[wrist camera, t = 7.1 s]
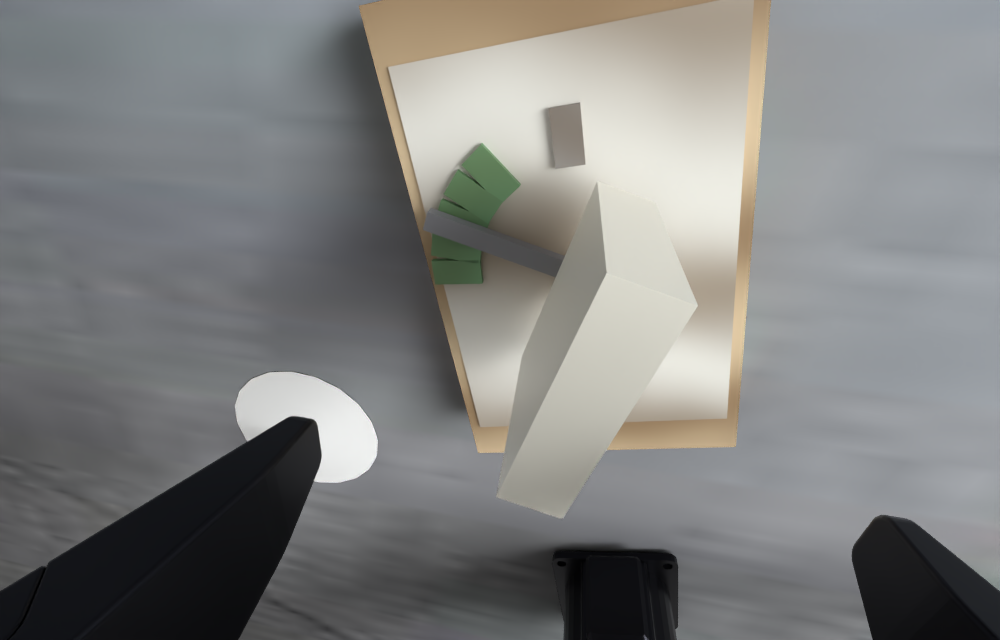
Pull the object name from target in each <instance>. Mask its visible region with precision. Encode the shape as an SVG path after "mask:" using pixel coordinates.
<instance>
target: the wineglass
mask: <svg viewBox="0 0 1000 640" xmlns="http://www.w3.org/2000/svg"><path fill="white" fill-rule="evenodd" d="M235 410H236V417H237V423H238V425H239V427H240V429H241V431H242V433H243V435H244V437H245V438H246V440H247V441H249V440H251V439H253V438H254V437H256V436H258V435H259V434H261V433H262V432H264V431H266V430H267V429H269V428H271V427H272V426H274V425H276V424H277V423H279V422H281V421H282V420H284V419H286V418H288V417H290V416H299V417H305V418H311V419H314V420H315V421H316V423H317V426H318V431H319V438H320V445H321V451H322V458H321V463H320V467H319V469H318V472H317V474H316V477H315V479H314V481H316V482H332V483H339V482H343V481H347V480H351V479H355V478H357V477H358V476H360V475H361V474H363V473H364V472H366V471H367V470H369V469H370V467H371V465H372V463H373V462H374V460H375V458H376V457H377V445H378V439H377V436H376V433H375V430H374V427H373V425H372V422H371V421H370V419H369V418H368V417H367V415H366V414H365V412H364V411H363V410H362V408H361V407H360V406H359V404H357V403H356V402H355V401H354V400H352V399H351V398H350V397H349V396H348V395H346V394H345V393H344V392H343V391H341V390H340V389H339V388H337V387H335V386H333V385H331V384H329V383H327V382H325V381H322V380H320V379H318V378H316V377H312V376H308V375H304V374H300V373H295V372H269V373H266V374H263V375H261V376H258V377H255V378H253V379H251V380H250V381H249V382H248V383H247V384H246V385H245V386H244V387H243V388H242V389H241V390H240V391H239V394H238V397H237V401H236V404H235Z"/></svg>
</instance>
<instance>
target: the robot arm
mask: <svg viewBox="0 0 1000 640" xmlns="http://www.w3.org/2000/svg"><path fill="white" fill-rule="evenodd" d="M321 458H322V451H321V445H320V438H319V431H318V426H317V423H316V421H315V420H314V419H311V418H305V417H299V416H290V417H288V418H286V419H284V420H282V421H281V422H279V423H277V424H276V425H274V426H272V427H271V428H269V429H267V430H266V431H264V432H262V433H261V434H259V435H258V436H256V437H254V438H253V439H251V440H249V441H248V442H246V443H244V444H243V445H241V446H239V447H238V448H236V449H234V450H233V451H231V452H229V453H228V454H226V455H224V456H223V457H221V458H220V459H218V460H216V461H215V462H213V463H211V464H210V465H208V466H206V467H205V468H203V469H201V470H200V471H198V472H196V473H195V474H193V475H191V476H190V477H188V478H187V479H185V480H183V481H182V482H180V483H178V484H177V485H175V486H173V487H172V488H170V489H168V490H167V491H165V492H163V493H162V494H160V495H158V496H157V497H155V498H153V499H152V500H150V501H149V502H147V503H145V504H144V505H142V506H140V507H139V508H137V509H135V510H134V511H132V512H130V513H129V514H127V515H125V516H124V517H122V518H120V519H119V520H117V521H116V522H114V523H112V524H111V525H109V526H107V527H106V528H104V529H102V530H101V531H99V532H97V533H96V534H94V535H92V536H91V537H89V538H87V539H86V540H84V541H83V542H81V543H79V544H78V545H76V546H74V547H73V548H71V549H69V550H68V551H66V552H64V553H63V554H61V555H59V556H58V557H56V558H54V559H53V560H51V561H50V562H49V563H48V565H47V567H46V566H41V567H39V568H38V569H36V570H34V571H33V572H31V573H29V574H28V575H26V576H24V577H23V578H21V579H19V580H18V581H16V582H14V583H13V584H11V585H9V586H8V587H6V588H4V589H3V590H1V591H0V640H238V639H239V637H240V635H241V634H242V632H243V630H244V628H245V626H246V624H247V622H248V620H249V619H250V617H251V615H252V613H253V611H254V609H255V607H256V605H257V604H258V602H259V600H260V598H261V596H262V594H263V592H264V590H265V589H266V587H267V585H268V583H269V581H270V579H271V577H272V575H273V574H274V572H275V570H276V568H277V566H278V564H279V562H280V560H281V558H282V556H283V554H284V552H285V550H286V547H287V545H288V543H289V540H290V538H291V536H292V533H293V531H294V528H295V526H296V523H297V521H298V519H299V516H300V514H301V511H302V509H303V506H304V504H305V501H306V499H307V496H308V494H309V492H310V489H311V487H312V484H313V482H314V479H315V477H316V474H317V472H318V469H319V467H320V463H321ZM852 562H853V566H854V570H855V574H856V578H857V582H858V585H859V589H860V593H861V597H862V601H863V605H864V608H865V612H866V616H867V620H868V624H869V627H870V631H871V635H872V639H873V640H1000V591H999V590H998V589H996V588H995V587H994V586H993V585H991V584H990V583H989V582H988V581H986V580H985V579H984V578H983V577H981V576H980V575H979V574H978V573H977V572H975V571H974V570H973V569H972V568H970V567H969V566H968V565H967V564H965V563H964V562H963V561H962V560H960V559H959V558H958V557H957V556H956V555H954V554H953V553H952V552H951V551H949V550H948V549H947V548H946V547H944V546H943V545H942V544H941V543H939V542H938V541H937V540H936V539H935V538H933V537H932V536H931V535H930V534H928V533H927V532H926V531H925V530H923V529H922V528H921V527H920V526H918V525H917V524H916V523H914V522H913V521H911V520H908V519H905V518H900V517H894V516H888V515H880V516H877V517H875V518H874V519H873V520H872V522H871V523H870V524H869V526H868V527H867V528H866V530H865V531H864V532H863V534H862V535H861V536H860V538H859V539H858V540H857V541H856V543H855V544H854V546H853V549H852ZM552 564H553V569H554V574H555V579H556V585H557V590H558V595H559V600H560V605H561V610H562V615H563V620H564V640H677V638H676V632H675V629H676V628H677V627H678V564H677V559H676V557H675V556H674V555H672V554H668V553H621V552H569V551H559V552H556V553H554V554H553V562H552Z"/></svg>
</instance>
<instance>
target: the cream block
mask: <svg viewBox="0 0 1000 640" xmlns="http://www.w3.org/2000/svg"><path fill="white" fill-rule="evenodd" d="M423 230H424V231H427V232H430V233H433V234H436V235H438V236H441V237H444V238H447V239H450V240H452V241H455V242H458V243H461V244H464V245H466V246H469V247H472V248H475V249H478V250H480V251H483V252H486V253H489V254H492V255H494V256H497V257H500V258H503V259H505V260H508V261H511V262H514V263H517V264H519V265H522V266H525V267H528V268H531V269H533V270H536V271H539V272H542V273H545V274H547V275H550V276H553V277H556V278H555V280H554V283H553V285H552V287H551V290H550V292H549V294H548V297H547V299H546V301H545V303H544V306H543V308H542V310H541V313H540V315H539V317H538V320H537V322H536V324H535V327H534V329H533V331H532V334H531V336H530V338H529V341H528V343H527V345H526V348H525V350H524V352H523V354H522V358H521V363H520V369H519V374H518V380H517V385H516V391H515V396H514V402H513V407H512V413H511V418H510V424H509V429H508V435H507V440H506V446H505V451H504V457H503V462H502V468H501V473H500V479H499V484H498V490H497V495H496V497H497V498H500V499H503V500H506V501H509V502H512V503H515V504H518V505H521V506H524V507H527V508H530V509H533V510H536V511H539V512H542V513H545V514H548V515H551V516H554V517H557V518H560V519H563V518H564V516H565V514H566V513H567V511H568V510H569V508H570V507H571V505H572V503H573V502H574V500H575V499H576V497H577V496H578V494H579V492H580V491H581V489H582V488H583V486H584V485H585V483H586V481H587V480H588V478H589V477H590V475H591V474H592V472H593V470H594V469H595V467H596V466H597V464H598V462H599V461H600V459H601V458H602V456H603V455H604V453H605V451H606V450H607V448H608V447H609V445H610V444H611V442H612V440H613V439H614V437H615V436H616V434H617V433H618V431H619V429H620V428H621V426H622V425H623V423H624V422H625V420H626V418H627V417H628V415H629V414H630V412H631V410H632V409H633V407H634V406H635V404H636V403H637V401H638V399H639V398H640V396H641V395H642V393H643V392H644V390H645V388H646V387H647V385H648V384H649V382H650V381H651V379H652V377H653V376H654V374H655V373H656V371H657V370H658V368H659V366H660V365H661V363H662V362H663V360H664V359H665V357H666V355H667V354H668V352H669V351H670V349H671V347H672V346H673V344H674V343H675V341H676V340H677V338H678V336H679V335H680V333H681V332H682V330H683V329H684V327H685V325H686V324H687V322H688V321H689V319H690V318H691V316H692V314H693V313H694V311H695V310H696V308H697V307H698V305H697V302H696V300H695V297H694V295H693V293H692V290H691V288H690V285H689V283H688V281H687V278H686V276H685V273H684V271H683V269H682V266H681V264H680V261H679V259H678V257H677V254H676V252H675V249H674V247H673V245H672V242H671V240H670V237H669V235H668V233H667V230H666V228H665V225H664V223H663V221H662V218H661V216H660V213H659V211H658V209H657V206H656V204H655V202H653V201H651V200H648V199H645V198H642V197H640V196H637V195H634V194H632V193H629V192H626V191H623V190H621V189H618V188H615V187H612V186H610V185H607V184H604V183H602V182H599V181H597V183H596V185H595V188H594V190H593V192H592V195H591V197H590V199H589V202H588V204H587V206H586V208H585V211H584V213H583V215H582V218H581V220H580V222H579V225H578V227H577V229H576V232H575V234H574V236H573V239H572V241H571V243H570V246H569V248H568V250H567V252H566V255H565V256H564V255H561V254H558V253H555V252H553V251H550V250H547V249H544V248H541V247H539V246H536V245H533V244H530V243H528V242H525V241H522V240H519V239H516V238H514V237H511V236H508V235H505V234H503V233H500V232H497V231H494V230H491V229H489V228H486V227H483V226H480V225H478V224H475V223H472V222H469V221H466V220H464V219H461V218H458V217H455V216H453V215H450V214H447V213H444V212H441V211H439V210H436V209H433V208H430V209H429V211H428V212H427V215H426V219H425V223H424V227H423Z"/></svg>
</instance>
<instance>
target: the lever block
mask: <svg viewBox="0 0 1000 640" xmlns="http://www.w3.org/2000/svg"><path fill="white" fill-rule="evenodd" d="M770 6H771V0H382V1H378V2H373V3H369V4H365V5H360V6H359V9H360V13H361V17H362V20H363V24H364V28H365V32H366V35H367V39H368V43H369V47H370V50H371V54H372V58H373V62H374V65H375V69H376V73H377V76H378V80H379V84H380V88H381V91H382V95H383V99H384V103H385V106H386V110H387V114H388V118H389V121H390V125H391V129H392V132H393V136H394V140H395V144H396V147H397V151H398V155H399V159H400V162H401V166H402V170H403V174H404V177H405V181H406V185H407V188H408V192H409V196H410V200H411V203H412V207H413V211H414V215H415V218H416V222H417V226H418V230H419V233H420V237H421V241H422V244H423V248H424V252H425V256H426V259H427V263H428V267H429V271H430V274H431V278H432V282H433V286H434V289H435V293H436V297H437V300H438V304H439V308H440V312H441V315H442V319H443V323H444V327H445V330H446V334H447V338H448V342H449V345H450V349H451V353H452V357H453V360H454V364H455V368H456V371H457V375H458V379H459V383H460V386H461V390H462V394H463V398H464V401H465V405H466V409H467V413H468V416H469V420H470V424H471V427H472V431H473V435H474V439H475V442H476V446H477V450H478V453H497V452H504V451H505V446H506V440H507V435H508V429H509V424H510V418H511V413H512V407H513V402H514V396H515V391H516V385H517V380H518V374H519V369H520V363H521V358H522V354H523V352H524V350H525V348H526V345H527V343H528V341H529V338H530V336H531V334H532V331H533V329H534V327H535V324H536V322H537V320H538V317H539V315H540V313H541V310H542V308H543V306H544V303H545V301H546V299H547V297H548V294H549V292H550V290H551V287H552V285H553V283H554V280H555V278H556V277H553V276H550V275H547V274H545V273H542V272H539V271H536V270H533V269H531V268H528V267H525V266H522V265H519V264H517V263H514V262H511V261H508V260H505V259H503V258H500V257H497V256H494V255H492V254H489V253H486V252H483V251H480V250H478V249H475V248H472V247H469V246H466V245H464V244H461V243H458V242H455V241H452V240H450V239H447V238H444V237H441V236H438V235H436V234H433V233H430V232H427V231H424V230H423V227H424V223H425V219H426V215H427V212H428V211H429V209H430V208H433V209H436V210H439V211H441V212H444V213H447V214H450V215H453V216H455V217H458V218H461V219H464V220H466V221H469V222H472V223H475V224H478V225H480V226H483V227H486V228H489V229H491V230H494V231H497V232H500V233H503V234H505V235H508V236H511V237H514V238H516V239H519V240H522V241H525V242H528V243H530V244H533V245H536V246H539V247H541V248H544V249H547V250H550V251H553V252H555V253H558V254H561V255H564V256H565V255H566V252H567V250H568V248H569V246H570V243H571V241H572V239H573V236H574V234H575V232H576V229H577V227H578V225H579V222H580V220H581V218H582V215H583V213H584V211H585V208H586V206H587V204H588V202H589V199H590V197H591V195H592V192H593V190H594V188H595V185H596V183H597V181H599V182H602V183H604V184H607V185H610V186H612V187H615V188H618V189H621V190H623V191H626V192H629V193H632V194H634V195H637V196H640V197H642V198H645V199H648V200H651V201H653V202H655V204H656V206H657V209H658V211H659V213H660V216H661V218H662V221H663V223H664V225H665V228H666V230H667V233H668V235H669V237H670V240H671V242H672V245H673V247H674V249H675V252H676V254H677V257H678V259H679V261H680V264H681V266H682V269H683V271H684V273H685V276H686V278H687V281H688V283H689V285H690V288H691V290H692V293H693V295H694V297H695V300H696V302H697V305H698V307H697V308H696V310H695V311H694V313H693V314H692V316H691V318H690V319H689V321H688V322H687V324H686V325H685V327H684V329H683V330H682V332H681V333H680V335H679V336H678V338H677V340H676V341H675V343H674V344H673V346H672V347H671V349H670V351H669V352H668V354H667V355H666V357H665V359H664V360H663V362H662V363H661V365H660V366H659V368H658V370H657V371H656V373H655V374H654V376H653V377H652V379H651V381H650V382H649V384H648V385H647V387H646V388H645V390H644V392H643V393H642V395H641V396H640V398H639V399H638V401H637V403H636V404H635V406H634V407H633V409H632V410H631V412H630V414H629V415H628V417H627V418H626V420H625V422H624V423H623V425H622V426H621V428H620V429H619V431H618V433H617V434H616V436H615V437H614V439H613V440H612V442H611V444H610V445H609V447H608V448H607V450H623V449H665V448H707V447H736V437H737V424H738V412H739V399H740V386H741V374H742V361H743V348H744V336H745V323H746V310H747V298H748V285H749V272H750V259H751V247H752V234H753V221H754V209H755V196H756V183H757V171H758V158H759V145H760V133H761V120H762V107H763V95H764V82H765V69H766V57H767V44H768V31H769V19H770Z"/></svg>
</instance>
